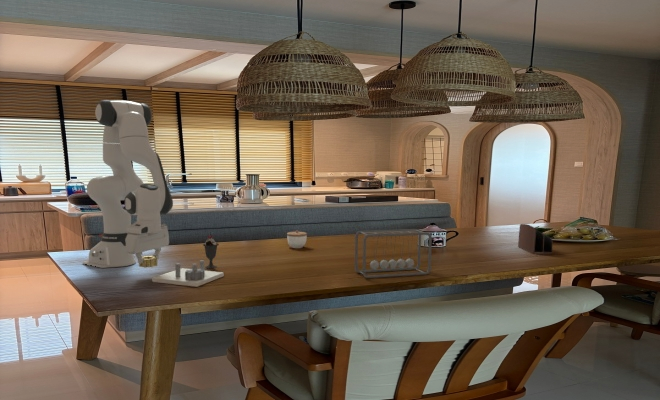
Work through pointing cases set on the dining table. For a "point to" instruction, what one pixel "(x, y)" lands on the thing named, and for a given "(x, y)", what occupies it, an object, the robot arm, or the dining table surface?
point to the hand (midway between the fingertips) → (148, 261)
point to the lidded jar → (296, 239)
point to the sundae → (210, 250)
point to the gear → (149, 261)
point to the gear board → (188, 276)
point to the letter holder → (534, 240)
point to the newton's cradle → (392, 263)
